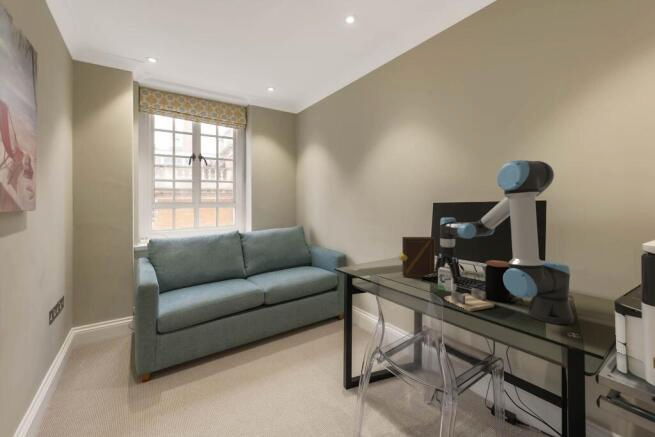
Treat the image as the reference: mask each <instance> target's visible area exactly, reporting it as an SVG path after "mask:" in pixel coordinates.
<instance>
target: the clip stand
mask: <svg viewBox="0 0 655 437" xmlns="http://www.w3.org/2000/svg"><path fill="white" fill-rule="evenodd" d="M470 293H471V294H470ZM470 293H468V292H466V293H460V292H458V291H452V292H451V295H446V296H444V299H445V301H446V300H447V302H448V301H449V303H451V304H454V305H456V306H457V307H460V308H461V307H462V309H463V308H464V310H466V311H468V312H475V311H480V310H485V309H492V308H495V303H493V302H491V301H488V300H487V297H486V292H485V291H484V290H480V289H477V288H476V287H475V288H474V287H473V288H471V292H470Z"/></svg>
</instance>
